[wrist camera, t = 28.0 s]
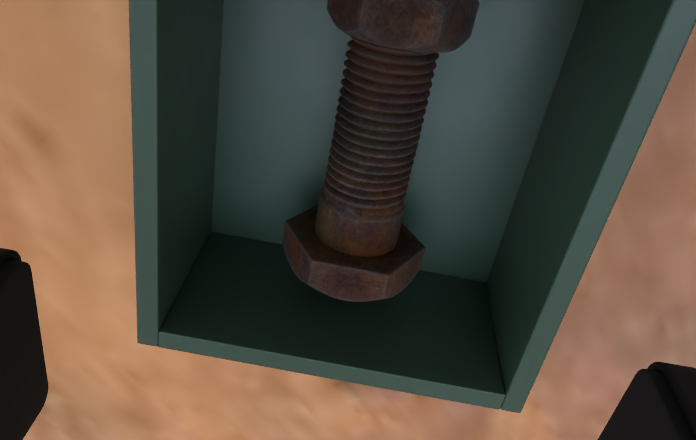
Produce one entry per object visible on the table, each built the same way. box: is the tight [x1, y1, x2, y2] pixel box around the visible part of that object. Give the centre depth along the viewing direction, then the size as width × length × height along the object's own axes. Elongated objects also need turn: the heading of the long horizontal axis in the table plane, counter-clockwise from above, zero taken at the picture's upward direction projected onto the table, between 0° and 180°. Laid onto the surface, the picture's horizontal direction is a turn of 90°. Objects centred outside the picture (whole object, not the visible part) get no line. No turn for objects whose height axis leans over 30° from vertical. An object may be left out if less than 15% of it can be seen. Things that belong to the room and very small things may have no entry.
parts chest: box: [129, 0, 696, 413], centre depth 21 cm, size 19×15×8 cm
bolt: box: [282, 0, 480, 302], centre depth 22 cm, size 6×5×15 cm
